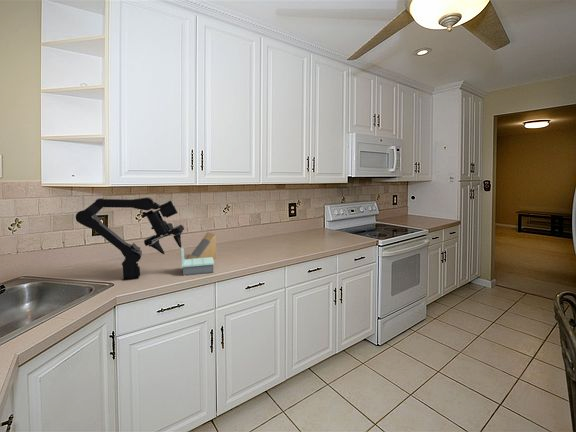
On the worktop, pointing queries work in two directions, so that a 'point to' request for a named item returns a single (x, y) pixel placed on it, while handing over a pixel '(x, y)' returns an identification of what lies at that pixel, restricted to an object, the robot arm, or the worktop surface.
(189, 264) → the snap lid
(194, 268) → the parts tub
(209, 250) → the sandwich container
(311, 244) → the worktop surface
